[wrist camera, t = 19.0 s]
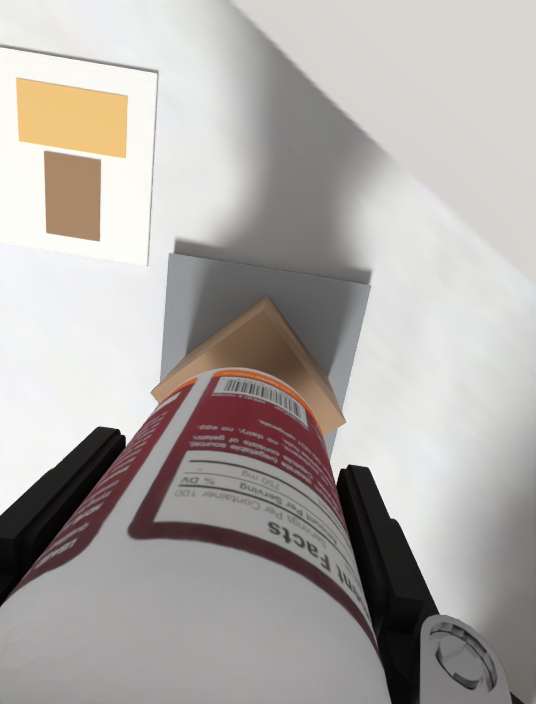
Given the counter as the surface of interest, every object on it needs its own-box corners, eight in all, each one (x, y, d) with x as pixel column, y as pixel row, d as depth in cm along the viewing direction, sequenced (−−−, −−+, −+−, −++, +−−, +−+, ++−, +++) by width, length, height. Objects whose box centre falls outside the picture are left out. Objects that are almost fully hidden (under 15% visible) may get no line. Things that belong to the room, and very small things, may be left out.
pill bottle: (192, 527, 13) (-137, 1546, 3) (126, 391, 12) (-1140, 1511, 1) (343, 489, 13) (665, 1672, 2) (294, 338, 11) (590, 1952, 1)
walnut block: (328, 377, 21) (346, 422, 16) (247, 430, 23) (236, 490, 17) (267, 294, 20) (262, 309, 14) (185, 355, 21) (150, 392, 15)
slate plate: (328, 454, 24) (329, 460, 23) (160, 428, 24) (156, 434, 23) (367, 284, 20) (371, 285, 20) (173, 253, 20) (169, 253, 20)
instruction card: (147, 266, 21) (146, 266, 20) (2, 242, 20) (-2, 242, 20) (157, 75, 18) (156, 72, 18) (-11, 47, 18) (-14, 44, 18)
